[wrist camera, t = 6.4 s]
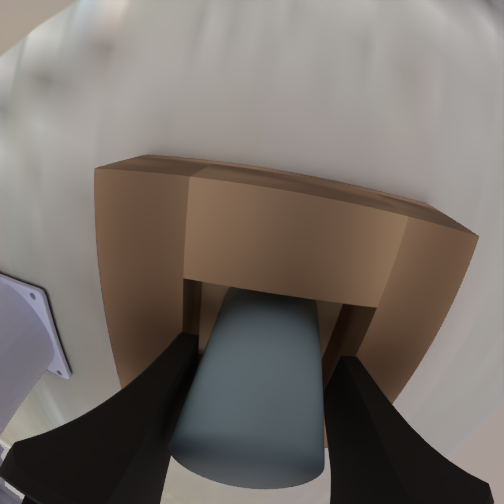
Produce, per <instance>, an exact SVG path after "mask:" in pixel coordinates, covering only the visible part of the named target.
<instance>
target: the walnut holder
mask: <svg viewBox="0 0 504 504" xmlns="http://www.w3.org/2000/svg"><path fill="white" fill-rule="evenodd" d="M94 199H95V227H96V243H97V255H98V265H99V274H100V282H101V290H102V297H103V304H104V310H105V316H106V322H107V327H108V332H109V337H110V342H111V347H112V351H113V356H114V360H115V364H116V369H117V373H118V376H119V380H120V384H121V388H122V389H123V388H124V387H125V386H126V385H128V384H129V383H130V382H131V381H132V380H134V379H135V378H136V377H137V376H138V375H139V374H141V373H142V372H143V371H144V370H145V369H146V368H147V367H148V366H149V365H150V364H151V363H152V362H153V361H154V360H155V359H156V358H157V357H158V356H159V355H160V354H161V353H162V352H163V351H164V350H165V349H166V348H167V347H168V346H169V345H170V343H171V342H172V341H173V340H174V339H175V338H176V337H177V335H178V334H179V333H181V332H184V333H189V334H193V335H198V336H199V351H198V366H199V363H200V360H201V358H202V355H203V353H204V350H205V347H206V345H207V342H208V340H209V337H210V334H211V332H212V329H213V327H214V324H215V321H216V319H217V316H218V314H219V311H220V308H221V306H222V303H223V301H224V298H225V296H226V293H227V291H228V290H229V288H230V287H236V288H242V289H248V290H254V291H261V292H267V293H273V294H280V295H287V296H293V297H300V298H307V299H314V300H316V304H317V312H318V323H319V336H320V349H321V365H322V383H323V406H324V390H325V388H326V386H327V384H328V382H329V380H330V378H331V376H332V374H333V372H334V370H335V368H336V365H337V363H338V361H339V359H340V357H341V355H342V356H356V357H358V359H359V360H360V361H361V363H362V364H363V366H364V367H365V368H366V370H367V371H368V373H369V374H370V375H371V377H372V378H373V380H374V381H375V382H376V384H377V385H378V387H379V388H380V389H381V391H382V392H383V393H384V395H385V396H386V397H387V399H388V400H389V401H390V402H391V404H393V402H394V401H395V399H396V398H397V397H398V395H399V394H400V392H401V391H402V390H403V388H404V387H405V385H406V384H407V382H408V381H409V379H410V378H411V376H412V375H413V373H414V371H415V370H416V368H417V367H418V365H419V364H420V362H421V360H422V359H423V357H424V355H425V354H426V352H427V350H428V349H429V347H430V345H431V343H432V342H433V340H434V338H435V336H436V334H437V333H438V331H439V329H440V327H441V325H442V323H443V321H444V319H445V317H446V315H447V313H448V311H449V309H450V307H451V305H452V303H453V301H454V299H455V296H456V294H457V292H458V290H459V288H460V285H461V283H462V281H463V278H464V276H465V273H466V271H467V268H468V266H469V263H470V261H471V258H472V255H473V253H474V250H475V247H476V244H477V241H478V239H479V236H478V235H476V234H475V233H473V232H472V231H470V230H469V229H467V228H466V227H464V226H463V225H461V224H460V223H458V222H456V221H455V220H453V219H452V218H450V217H448V216H447V215H445V214H443V213H442V212H440V211H438V210H437V209H435V208H433V207H432V206H430V205H427V204H424V203H420V202H417V201H413V200H410V199H406V198H403V197H399V196H395V195H391V194H388V193H384V192H380V191H376V190H372V189H367V188H363V187H359V186H355V185H350V184H346V183H341V182H337V181H332V180H327V179H322V178H317V177H312V176H307V175H302V174H296V173H291V172H285V171H279V170H273V169H267V168H261V167H254V166H247V165H240V164H233V163H225V162H218V161H209V160H200V159H191V158H180V157H169V156H157V155H143V156H139V157H135V158H131V159H127V160H123V161H119V162H116V163H112V164H108V165H105V166H101V167H98V168H95V172H94ZM324 448H328V443H327V435H326V428H325V420H324Z"/></svg>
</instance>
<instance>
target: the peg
mask: <svg viewBox="0 0 504 504" xmlns="http://www.w3.org/2000/svg"><path fill="white" fill-rule="evenodd" d="M169 452H170V454H171V455H172V457H173V458H174V459H175V460H176V461H177V462H178V463H179V464H181V465H182V466H184V467H185V468H187V469H188V470H190V471H192V472H194V473H196V474H198V475H200V476H202V477H204V478H207V479H210V480H213V481H216V482H219V483H223V484H227V485H231V486H237V487H243V488H252V489H279V488H287V487H293V486H298V485H301V484H304V483H307V482H309V481H312V480H313V479H315V478H317V477H318V476H319V475H320V474H321V473H322V472H323V470H324V463H325V458H324V406H323V383H322V365H321V349H320V336H319V323H318V312H317V304H316V300H314V299H307V298H300V297H293V296H287V295H280V294H273V293H267V292H261V291H254V290H248V289H242V288H236V287H230V288H229V290H228V291H227V293H226V296H225V298H224V301H223V303H222V306H221V308H220V311H219V314H218V316H217V319H216V321H215V324H214V327H213V329H212V332H211V334H210V337H209V340H208V342H207V345H206V347H205V350H204V353H203V355H202V358H201V360H200V363H199V366H198V368H197V371H196V373H195V376H194V379H193V381H192V384H191V387H190V389H189V392H188V394H187V397H186V400H185V402H184V405H183V408H182V410H181V413H180V416H179V418H178V421H177V424H176V426H175V429H174V432H173V434H172V437H171V440H170V442H169Z"/></svg>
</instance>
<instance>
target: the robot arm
mask: <svg viewBox="0 0 504 504" xmlns="http://www.w3.org/2000/svg"><path fill="white" fill-rule="evenodd" d="M198 351H199V336H198V335H193V334H189V333H184V332H181V333H179V334H178V335H177V337H176V338H175V339H174V340H173V341H172V342H171V343H170V345H169V346H168V347H167V348H166V349H165V350H164V351H163V352H162V353H161V354H160V355H159V356H158V357H157V358H156V359H155V360H154V361H153V362H152V363H151V364H150V365H149V366H148V367H147V368H146V369H145V370H144V371H143V372H142V373H141V374H139V375H138V376H137V377H136V378H135V379H134V380H132V381H131V382H130V383H129V384H128V385H126V386H125V387H124V388H123V389H122V390H120V391H119V392H118V393H116V394H115V395H114V396H112V397H111V398H109V399H108V400H106V401H105V402H104V403H102V404H101V405H99V406H97V407H96V408H94V409H92V410H91V411H89V412H87V413H86V414H84V415H82V416H80V417H79V418H77V419H75V420H73V421H71V422H68V423H66V424H64V425H62V426H60V427H58V428H55V429H53V430H51V431H48V432H46V433H43V434H40V435H37V436H34V437H31V438H28V439H24V440H21V441H17V442H15V443H14V444H13V446H12V447H11V449H10V450H9V452H8V453H7V455H6V457H5V459H4V461H2V458H1V454H2V453H3V451H4V448H3V447H2V446H1V445H0V504H160V501H161V496H162V492H163V487H164V483H165V478H166V474H167V470H168V466H169V461H170V458H171V454H170V452H169V442H170V440H171V437H172V434H173V432H174V429H175V426H176V424H177V421H178V418H179V416H180V413H181V410H182V408H183V405H184V402H185V400H186V397H187V394H188V392H189V389H190V387H191V384H192V381H193V379H194V376H195V373H196V371H197V368H198ZM45 370H48V371H50V372H52V373H54V374H56V375H58V376H61V377H63V378H65V379H70V377H71V372H70V370H69V367H68V364H67V362H66V359H65V356H64V354H63V351H62V348H61V345H60V342H59V339H58V336H57V333H56V329H55V326H54V323H53V319H52V316H51V312H50V309H49V305H48V301H47V297H46V294H45V293H44V291H43V290H42V289H40V288H37V287H34V286H31V285H29V284H26V283H23V282H20V281H18V280H15V279H12V278H10V277H7V276H5V275H2V274H0V435H1V434H2V432H3V431H4V429H5V427H6V426H7V424H8V423H9V421H10V420H11V418H12V417H13V415H14V414H15V412H16V411H17V409H18V408H19V406H20V405H21V403H22V402H23V401H24V399H25V398H26V396H27V395H28V393H29V392H30V391H31V389H32V388H33V386H34V385H35V384H36V382H37V381H38V380H39V378H40V377H41V375H42V374H43V373H44V371H45ZM324 420H325V428H326V435H327V443H328V451H329V459H330V468H331V497H330V504H494V500H493V497H492V493H491V490H490V486H489V484H488V483H486V482H484V481H482V480H480V479H478V478H476V477H475V476H473V475H471V474H469V473H467V472H465V471H464V470H462V469H461V468H459V467H458V466H456V465H455V464H453V463H452V462H450V461H449V460H448V459H446V458H445V457H444V456H442V455H441V454H440V453H439V452H437V451H436V450H435V449H434V448H433V447H431V446H430V445H429V444H428V443H427V442H426V441H425V440H424V439H423V438H422V437H421V436H420V435H419V434H418V433H417V432H416V431H415V430H414V429H413V428H412V427H411V426H410V425H409V424H408V423H407V422H406V421H405V419H404V418H403V417H402V416H401V415H400V414H399V412H398V411H397V410H396V409H395V408H394V406H393V405H392V404H391V402H390V401H389V400H388V399H387V397H386V396H385V395H384V393H383V392H382V391H381V389H380V388H379V387H378V385H377V384H376V382H375V381H374V380H373V378H372V377H371V375H370V374H369V373H368V371H367V370H366V368H365V367H364V366H363V364H362V363H361V361H360V360H359V359H358V357H356V356H342V355H341V357H340V359H339V361H338V363H337V365H336V368H335V370H334V372H333V374H332V376H331V378H330V380H329V382H328V384H327V386H326V388H325V390H324ZM5 481H6V482H8V483H9V484H10V485H11V486H13V487H14V488H16V489H17V490H18V491H20V492H21V493H23V494H24V495H25V497H24V499H23V500H22V499H20V498H19V496H18V495H16V494H15V493H13V492H12V491H11V490H9V489H8V488H7V487H5Z"/></svg>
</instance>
